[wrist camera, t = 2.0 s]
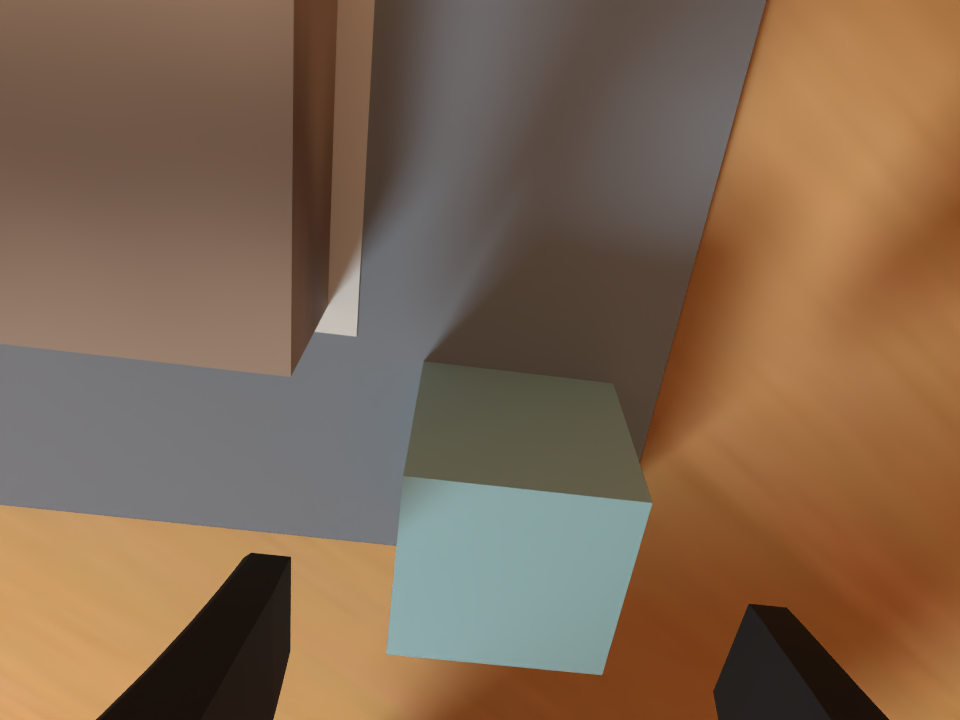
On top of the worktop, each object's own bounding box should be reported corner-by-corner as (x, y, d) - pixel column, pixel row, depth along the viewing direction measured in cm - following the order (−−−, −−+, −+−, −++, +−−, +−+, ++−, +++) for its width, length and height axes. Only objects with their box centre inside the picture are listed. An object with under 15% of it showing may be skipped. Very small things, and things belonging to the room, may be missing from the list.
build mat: (609, 559, 18) (611, 569, 17) (-62, 489, 17) (-72, 498, 16) (791, -115, 11) (800, -118, 11) (-265, -276, 11) (-286, -284, 10)
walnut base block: (327, 306, 14) (290, 377, 12) (19, 269, 14) (-92, 333, 11) (339, -36, 12) (294, -46, 9) (-43, -90, 11) (-209, -118, 9)
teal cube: (577, 531, 17) (602, 675, 13) (408, 513, 17) (386, 654, 13) (613, 383, 15) (652, 502, 11) (423, 360, 15) (403, 476, 11)
